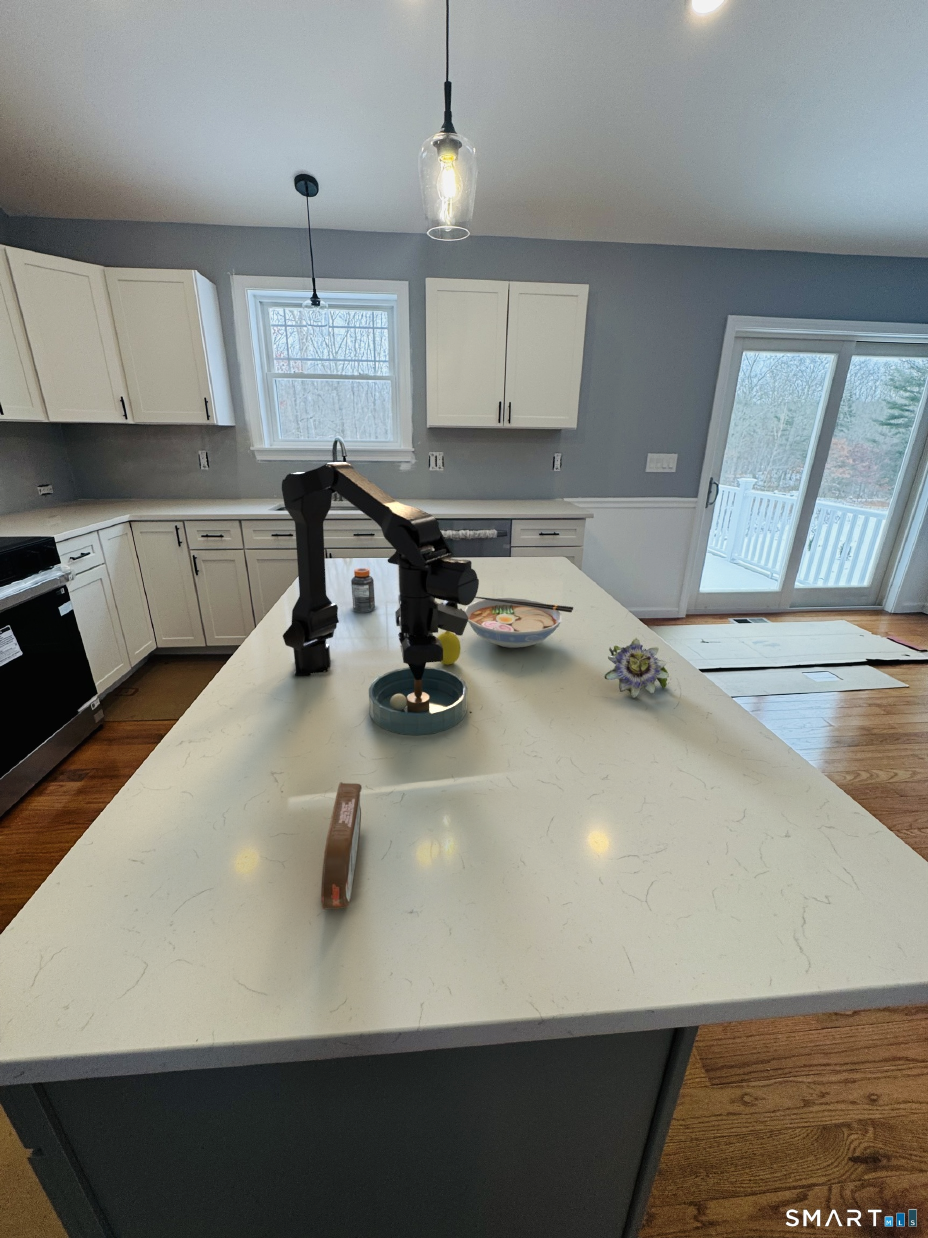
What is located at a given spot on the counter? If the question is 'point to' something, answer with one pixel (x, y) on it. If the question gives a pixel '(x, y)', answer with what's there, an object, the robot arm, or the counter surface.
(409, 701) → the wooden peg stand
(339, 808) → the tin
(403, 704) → the dough ball
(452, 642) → the lemon
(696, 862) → the counter surface
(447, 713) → the bowl
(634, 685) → the passion flower
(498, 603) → the ramen bowl
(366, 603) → the pill bottle
